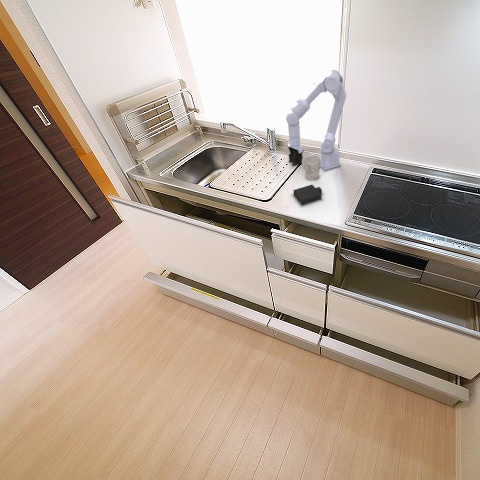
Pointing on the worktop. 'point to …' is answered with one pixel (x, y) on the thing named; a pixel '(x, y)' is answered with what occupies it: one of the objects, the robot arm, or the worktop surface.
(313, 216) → the worktop surface
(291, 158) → the pad
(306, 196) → the base pad
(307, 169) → the mug
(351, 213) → the worktop surface
